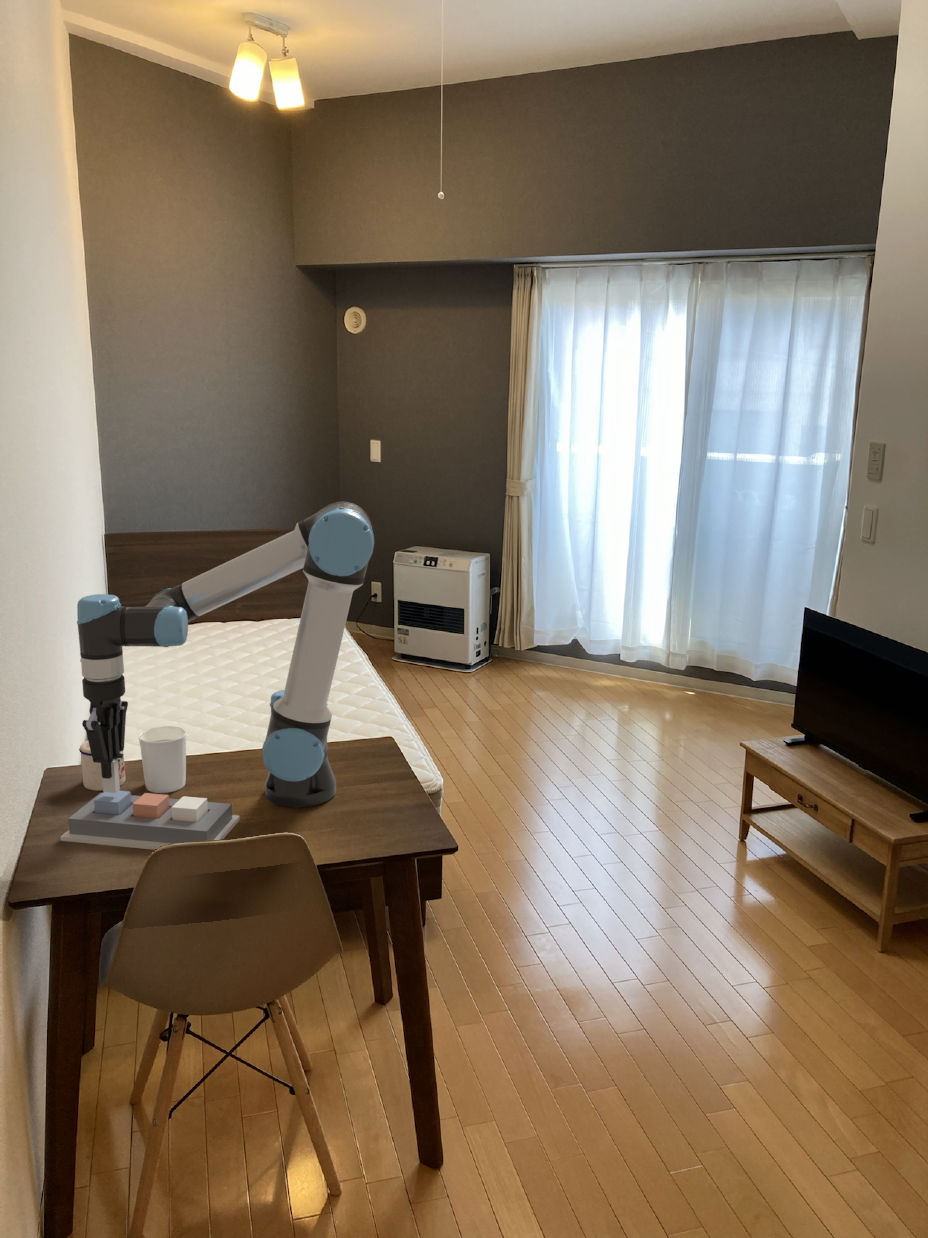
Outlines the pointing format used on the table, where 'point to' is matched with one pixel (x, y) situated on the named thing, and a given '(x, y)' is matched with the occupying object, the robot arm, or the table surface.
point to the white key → (190, 809)
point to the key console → (147, 827)
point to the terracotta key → (151, 805)
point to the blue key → (113, 803)
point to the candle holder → (164, 758)
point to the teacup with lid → (96, 769)
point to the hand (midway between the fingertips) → (111, 790)
